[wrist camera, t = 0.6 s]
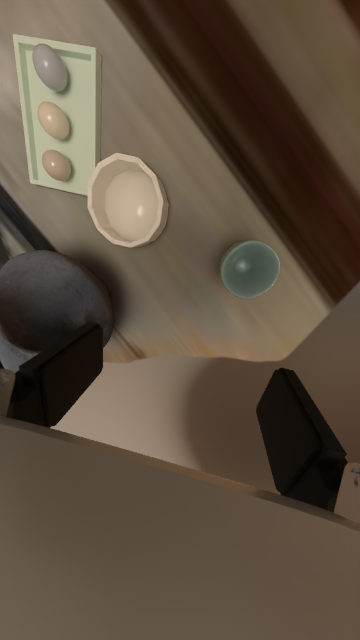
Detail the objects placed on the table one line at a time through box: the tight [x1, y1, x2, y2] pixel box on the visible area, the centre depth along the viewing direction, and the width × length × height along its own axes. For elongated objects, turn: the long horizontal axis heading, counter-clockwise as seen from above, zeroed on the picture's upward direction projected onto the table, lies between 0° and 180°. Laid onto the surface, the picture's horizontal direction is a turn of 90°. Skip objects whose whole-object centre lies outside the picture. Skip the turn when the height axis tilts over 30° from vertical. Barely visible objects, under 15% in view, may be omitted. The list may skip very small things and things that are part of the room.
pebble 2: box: [38, 101, 69, 140], centre depth 28 cm, size 4×4×4 cm
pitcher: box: [0, 250, 113, 373], centre depth 30 cm, size 21×22×25 cm
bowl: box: [88, 153, 169, 248], centre depth 31 cm, size 12×12×4 cm
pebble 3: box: [42, 149, 71, 181], centre depth 30 cm, size 4×4×4 cm
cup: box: [219, 240, 281, 299], centre depth 30 cm, size 8×8×10 cm
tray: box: [13, 34, 102, 196], centre depth 30 cm, size 17×12×2 cm
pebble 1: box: [32, 43, 67, 92], centre depth 26 cm, size 4×4×4 cm
